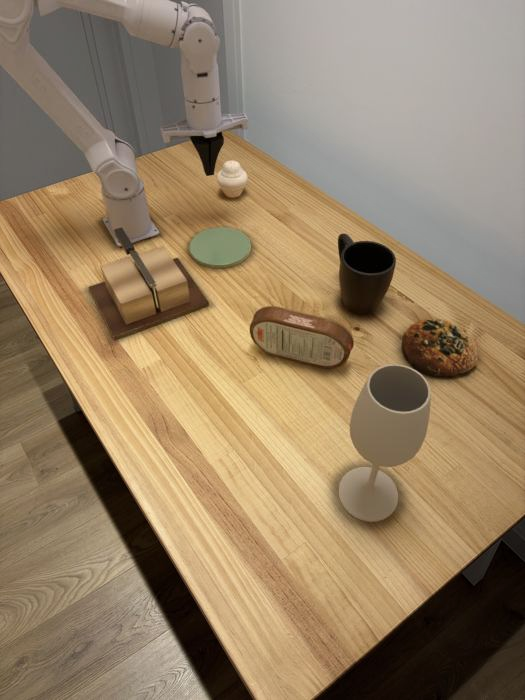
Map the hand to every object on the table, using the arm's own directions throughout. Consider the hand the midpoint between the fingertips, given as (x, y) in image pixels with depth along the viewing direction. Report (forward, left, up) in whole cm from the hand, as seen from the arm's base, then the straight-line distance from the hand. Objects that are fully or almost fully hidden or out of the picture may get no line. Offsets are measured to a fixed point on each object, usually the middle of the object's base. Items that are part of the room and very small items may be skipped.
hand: (209, 172), depth 98 cm
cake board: (+15, -19, -10) cm, 26 cm away
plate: (+9, -3, -10) cm, 13 cm away
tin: (+38, -4, -10) cm, 39 cm away
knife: (+12, -19, -8) cm, 23 cm away
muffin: (-6, +7, -10) cm, 14 cm away
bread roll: (+47, +15, -10) cm, 50 cm away
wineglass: (+61, -8, -10) cm, 62 cm away
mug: (+31, +11, -10) cm, 34 cm away
